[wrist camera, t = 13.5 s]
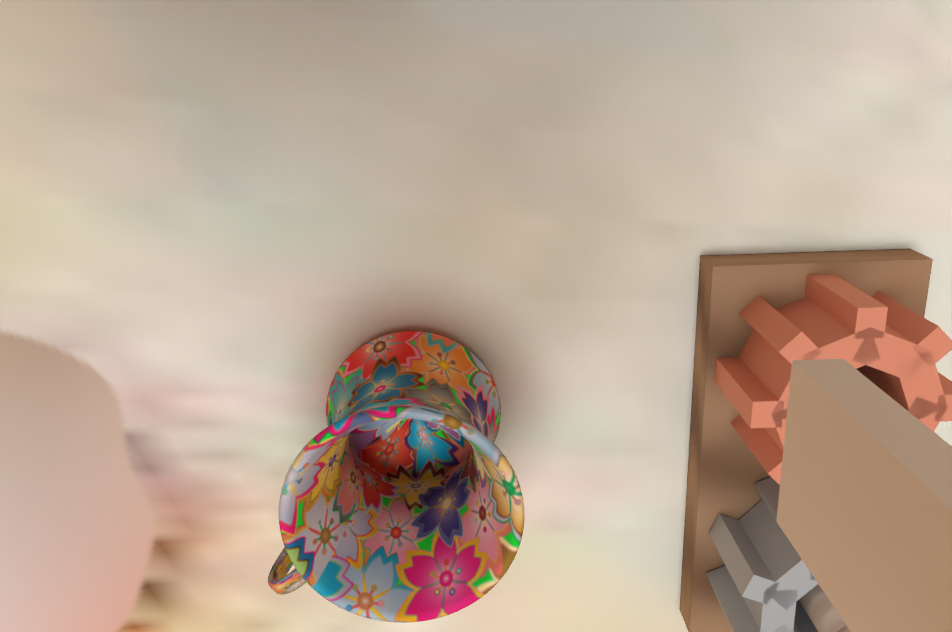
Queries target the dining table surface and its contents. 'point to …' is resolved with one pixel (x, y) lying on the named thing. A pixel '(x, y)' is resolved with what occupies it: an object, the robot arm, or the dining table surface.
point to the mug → (402, 486)
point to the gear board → (712, 435)
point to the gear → (760, 570)
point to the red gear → (831, 337)
